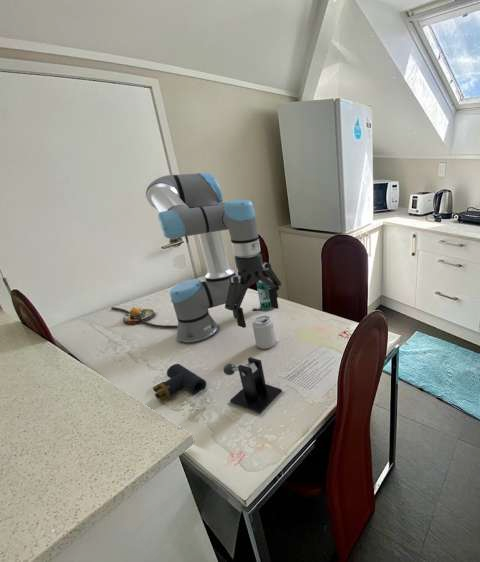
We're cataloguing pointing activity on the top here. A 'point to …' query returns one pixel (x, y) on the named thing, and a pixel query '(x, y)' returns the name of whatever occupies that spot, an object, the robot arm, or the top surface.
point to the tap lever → (231, 368)
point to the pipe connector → (179, 383)
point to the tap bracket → (254, 389)
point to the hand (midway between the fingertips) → (259, 316)
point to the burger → (138, 315)
